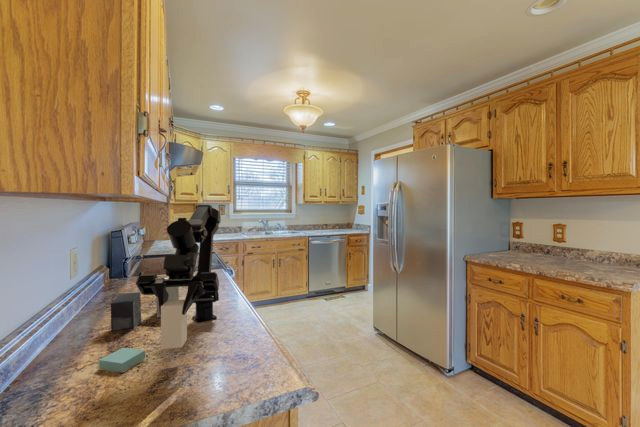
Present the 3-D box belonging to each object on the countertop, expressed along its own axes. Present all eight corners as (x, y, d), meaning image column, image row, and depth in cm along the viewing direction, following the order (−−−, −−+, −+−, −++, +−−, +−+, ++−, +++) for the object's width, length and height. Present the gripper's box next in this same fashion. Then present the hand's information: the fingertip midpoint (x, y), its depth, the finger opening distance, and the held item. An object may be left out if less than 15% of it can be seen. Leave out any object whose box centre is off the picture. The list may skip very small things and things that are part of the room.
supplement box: (178, 308, 115) (177, 276, 115) (179, 314, 109) (178, 280, 108) (156, 311, 112) (156, 278, 111) (156, 317, 105) (155, 282, 105)
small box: (119, 324, 99) (119, 293, 99) (141, 321, 102) (141, 291, 101) (109, 337, 89) (109, 302, 89) (134, 333, 92) (134, 300, 92)
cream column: (167, 340, 73) (167, 300, 73) (187, 339, 74) (186, 299, 74) (161, 349, 69) (160, 306, 69) (181, 347, 70) (181, 305, 69)
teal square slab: (123, 355, 75) (123, 347, 75) (145, 358, 74) (145, 350, 74) (99, 368, 69) (99, 360, 69) (122, 372, 67) (122, 363, 67)
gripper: (138, 242, 73) (116, 300, 63) (216, 241, 77) (208, 295, 66) (151, 267, 81) (133, 323, 71) (221, 265, 84) (215, 318, 74)
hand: (172, 314), depth 70 cm, fingers closed on cream column, 4 cm apart
